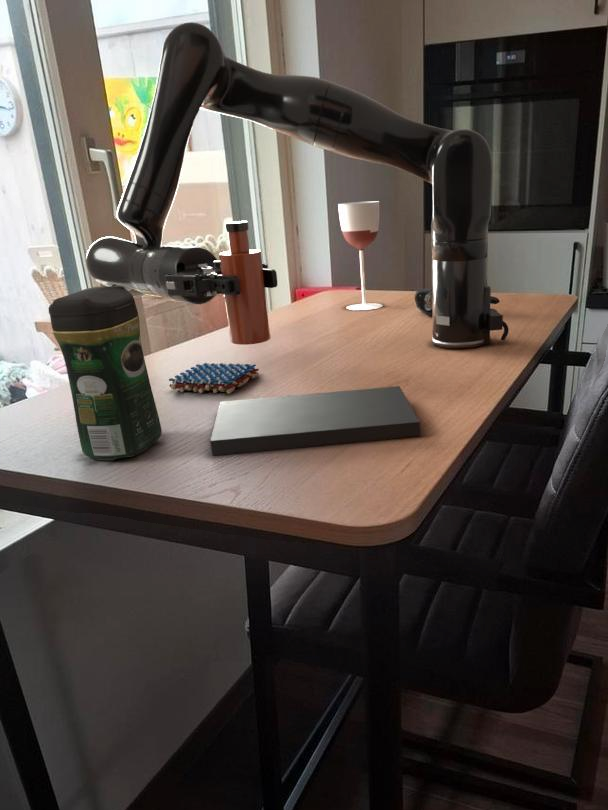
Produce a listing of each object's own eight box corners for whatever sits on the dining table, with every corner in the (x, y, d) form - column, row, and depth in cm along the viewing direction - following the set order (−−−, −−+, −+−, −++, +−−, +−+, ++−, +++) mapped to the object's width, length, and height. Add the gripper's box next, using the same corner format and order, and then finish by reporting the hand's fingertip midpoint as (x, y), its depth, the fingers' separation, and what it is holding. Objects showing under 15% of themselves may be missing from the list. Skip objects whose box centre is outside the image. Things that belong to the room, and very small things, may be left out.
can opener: (409, 317, 144) (409, 290, 142) (420, 311, 150) (419, 284, 148) (494, 319, 138) (495, 290, 136) (502, 312, 144) (503, 284, 141)
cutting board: (400, 398, 95) (399, 385, 94) (420, 436, 81) (420, 421, 80) (222, 414, 93) (220, 401, 92) (212, 455, 79) (209, 441, 79)
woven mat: (232, 395, 101) (230, 381, 100) (167, 392, 104) (165, 379, 103) (262, 375, 110) (260, 362, 109) (202, 373, 113) (200, 361, 112)
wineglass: (389, 302, 162) (384, 200, 153) (376, 310, 154) (370, 203, 145) (353, 302, 165) (347, 202, 156) (339, 310, 156) (331, 205, 147)
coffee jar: (114, 433, 89) (81, 282, 81) (172, 434, 87) (144, 280, 79) (70, 462, 80) (29, 297, 72) (133, 464, 78) (98, 295, 71)
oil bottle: (262, 333, 95) (249, 219, 89) (276, 340, 90) (263, 221, 84) (225, 339, 93) (209, 223, 86) (238, 346, 88) (222, 225, 82)
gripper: (129, 252, 91) (203, 258, 80) (219, 240, 101) (297, 244, 90) (140, 310, 95) (213, 323, 84) (226, 293, 104) (302, 303, 93)
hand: (256, 282), depth 87 cm, fingers closed on oil bottle, 5 cm apart
